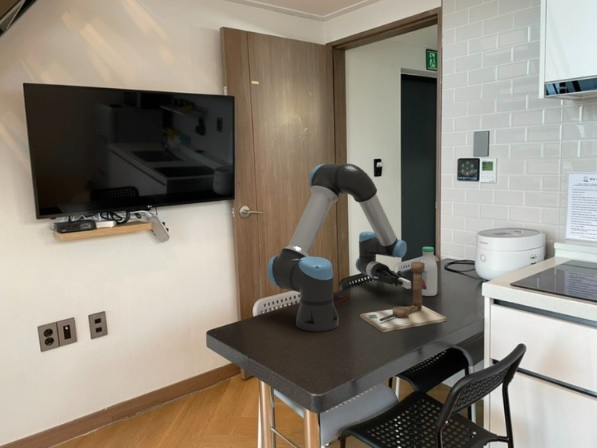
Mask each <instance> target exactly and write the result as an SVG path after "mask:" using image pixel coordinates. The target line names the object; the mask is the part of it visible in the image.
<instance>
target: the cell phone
mask: <svg viewBox="0 0 597 448" xmlns="http://www.w3.org/2000/svg"><path fill="white" fill-rule="evenodd" d="M349 298H350V297H349V296H346V295H341V294H336V293H333V303H334V306H335V305H337V304H339V303H341V302H344V301H347V300H349Z"/></svg>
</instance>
